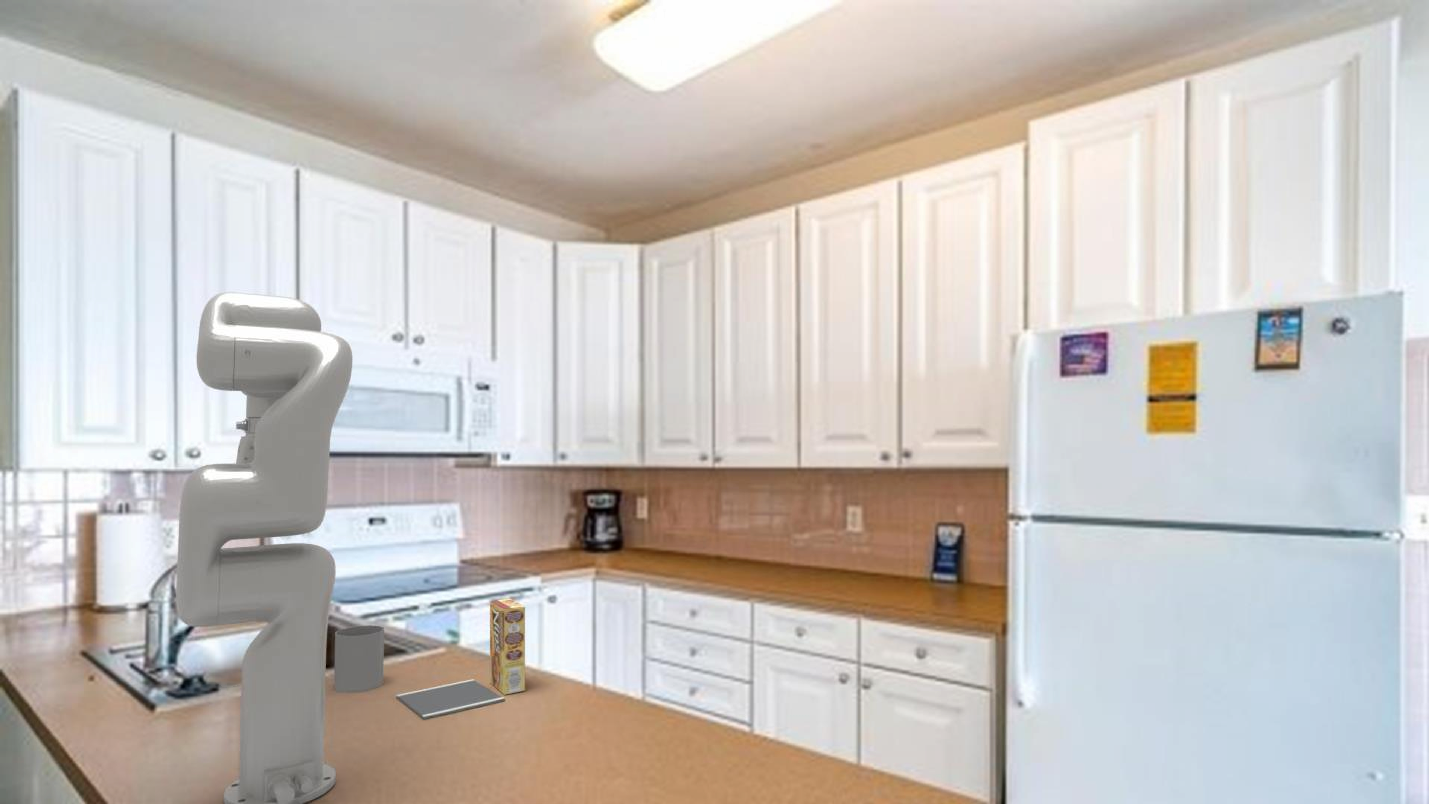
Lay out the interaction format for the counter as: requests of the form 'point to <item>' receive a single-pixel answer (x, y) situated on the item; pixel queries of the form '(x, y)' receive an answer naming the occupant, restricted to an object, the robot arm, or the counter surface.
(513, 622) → the candy box
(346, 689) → the cup
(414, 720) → the counter surface
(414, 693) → the mat
